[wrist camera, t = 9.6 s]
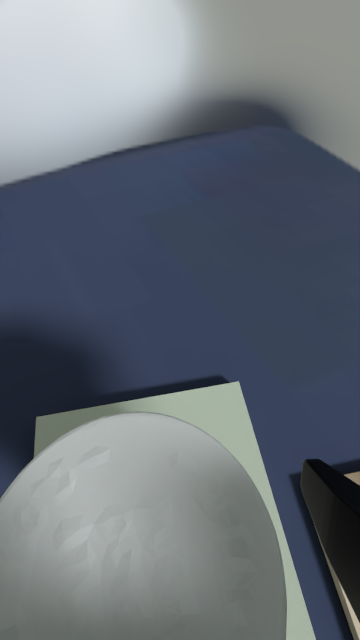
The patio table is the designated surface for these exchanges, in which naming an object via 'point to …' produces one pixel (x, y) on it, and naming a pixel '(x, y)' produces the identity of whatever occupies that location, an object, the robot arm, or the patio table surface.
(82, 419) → the green mat
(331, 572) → the collar plate
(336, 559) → the robot arm
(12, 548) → the pill bottle
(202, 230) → the patio table surface
